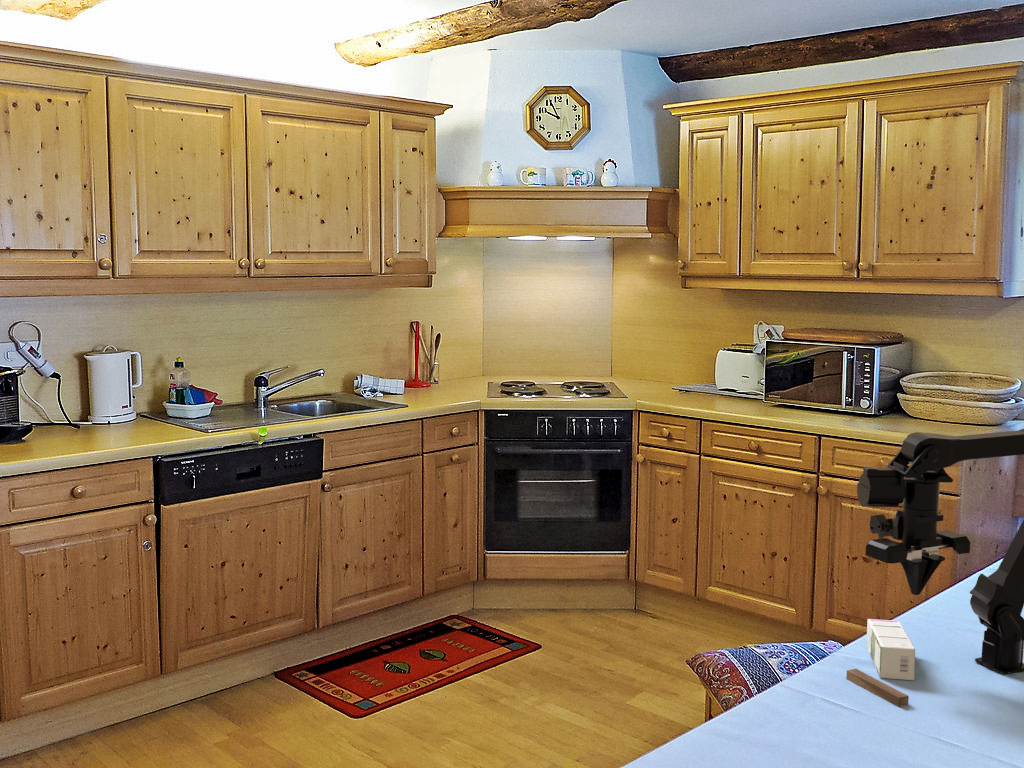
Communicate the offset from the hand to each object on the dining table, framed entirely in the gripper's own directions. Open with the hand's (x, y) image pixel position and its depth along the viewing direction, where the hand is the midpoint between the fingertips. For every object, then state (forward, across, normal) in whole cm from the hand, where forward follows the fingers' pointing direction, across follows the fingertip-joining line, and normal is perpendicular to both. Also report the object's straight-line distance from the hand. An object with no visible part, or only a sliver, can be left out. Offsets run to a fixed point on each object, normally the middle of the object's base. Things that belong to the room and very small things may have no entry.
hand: (915, 594), depth 180 cm
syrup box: (+10, +7, +4) cm, 13 cm away
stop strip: (+13, +14, +6) cm, 20 cm away
